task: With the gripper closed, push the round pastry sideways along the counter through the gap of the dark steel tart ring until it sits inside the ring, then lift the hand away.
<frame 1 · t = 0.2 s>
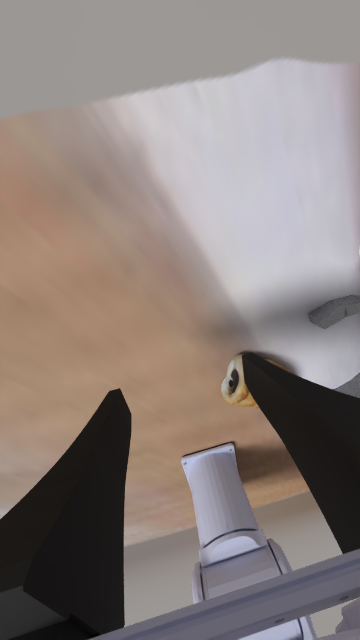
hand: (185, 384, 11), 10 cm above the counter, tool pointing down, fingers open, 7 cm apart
pastry: (251, 373, 25), on the counter
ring: (333, 353, 25), on the counter
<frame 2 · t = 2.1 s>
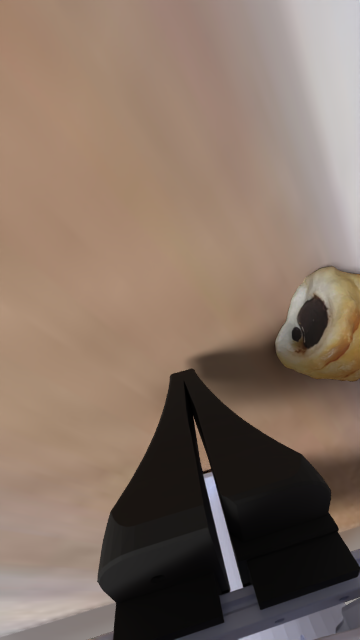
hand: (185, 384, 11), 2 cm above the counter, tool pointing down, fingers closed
pastry: (327, 319, 14), on the counter
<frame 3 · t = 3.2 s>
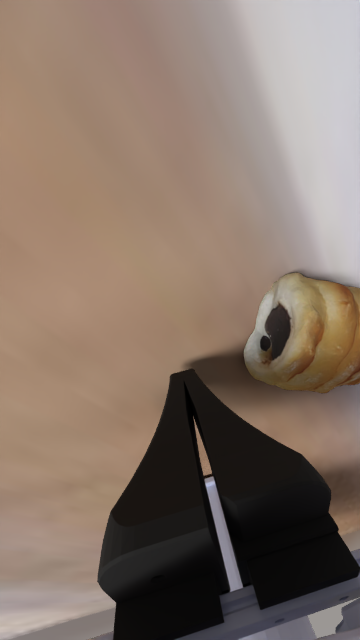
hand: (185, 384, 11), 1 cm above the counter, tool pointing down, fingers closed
pastry: (300, 326, 13), on the counter
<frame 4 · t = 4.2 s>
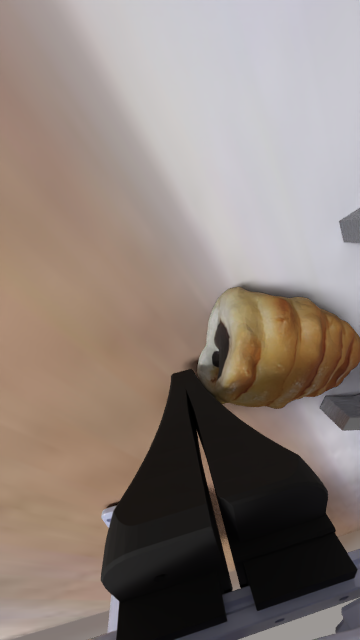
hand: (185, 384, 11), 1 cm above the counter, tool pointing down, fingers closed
pastry: (259, 337, 12), on the counter, touching gripper
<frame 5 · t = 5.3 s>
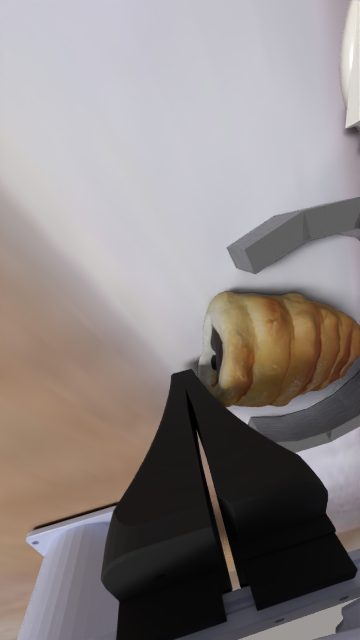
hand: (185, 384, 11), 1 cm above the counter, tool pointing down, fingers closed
pastry: (257, 335, 12), on the counter, touching gripper
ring: (296, 342, 13), on the counter
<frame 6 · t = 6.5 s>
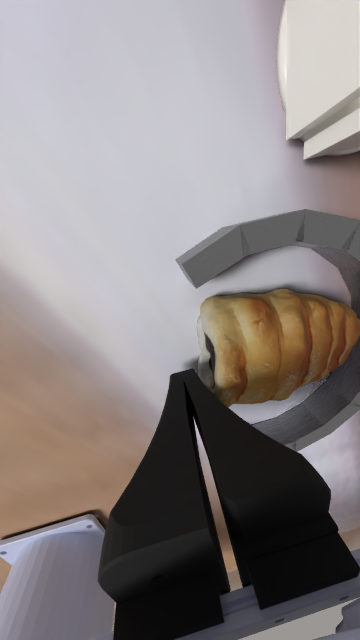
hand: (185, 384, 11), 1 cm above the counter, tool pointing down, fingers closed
pastry: (253, 332, 13), on the counter
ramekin: (357, 47, 8), on the counter
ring: (257, 352, 13), on the counter
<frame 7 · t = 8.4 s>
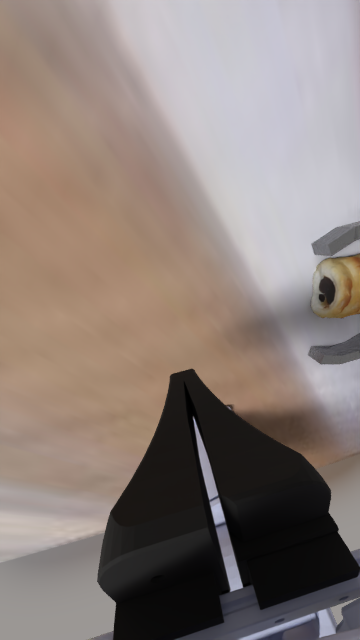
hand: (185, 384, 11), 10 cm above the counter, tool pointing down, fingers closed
pastry: (339, 281, 22), on the counter
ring: (341, 297, 22), on the counter
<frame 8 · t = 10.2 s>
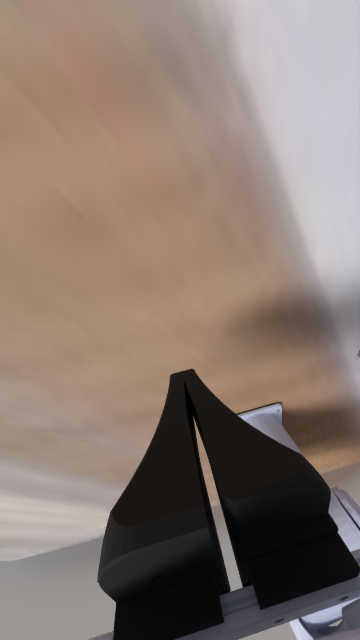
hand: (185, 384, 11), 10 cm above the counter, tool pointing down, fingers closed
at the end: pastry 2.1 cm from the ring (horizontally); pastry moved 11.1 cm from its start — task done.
